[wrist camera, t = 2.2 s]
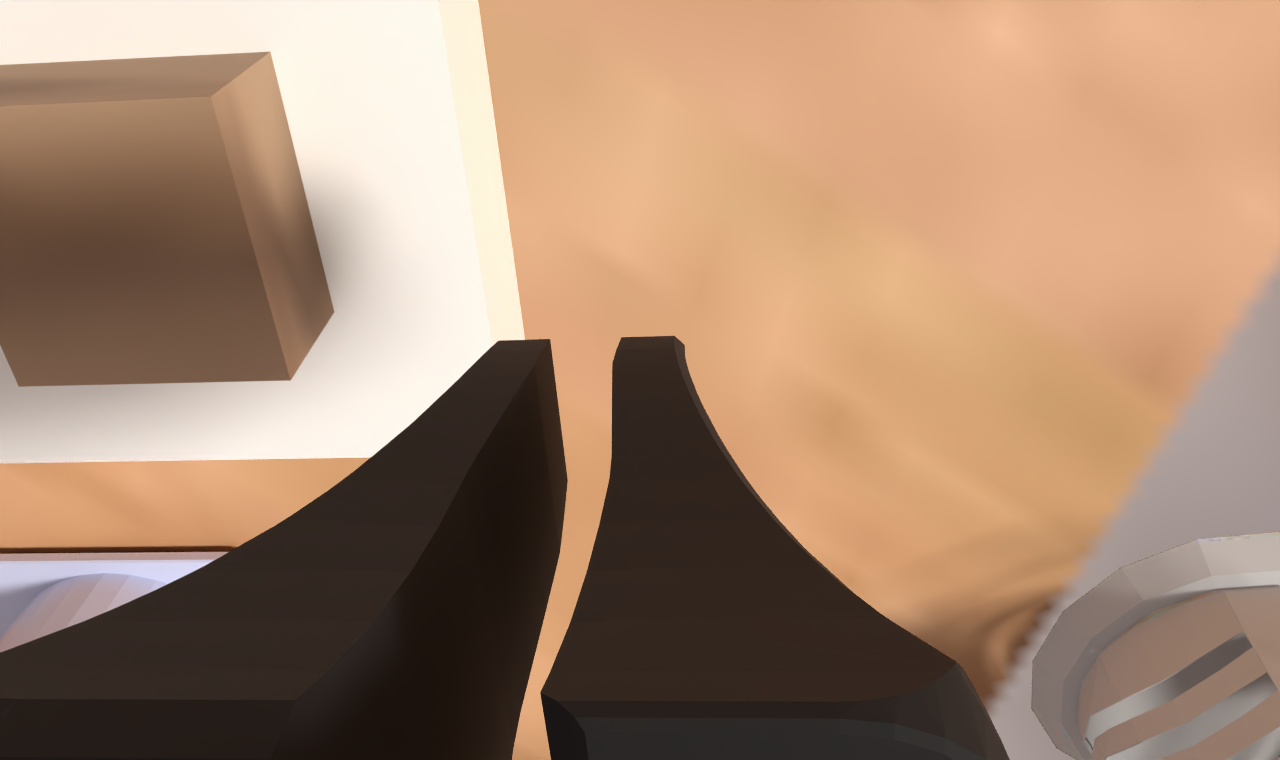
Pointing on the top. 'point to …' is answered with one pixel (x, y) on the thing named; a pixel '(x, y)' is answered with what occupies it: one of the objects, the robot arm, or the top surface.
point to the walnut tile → (153, 224)
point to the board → (342, 219)
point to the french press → (1170, 658)
